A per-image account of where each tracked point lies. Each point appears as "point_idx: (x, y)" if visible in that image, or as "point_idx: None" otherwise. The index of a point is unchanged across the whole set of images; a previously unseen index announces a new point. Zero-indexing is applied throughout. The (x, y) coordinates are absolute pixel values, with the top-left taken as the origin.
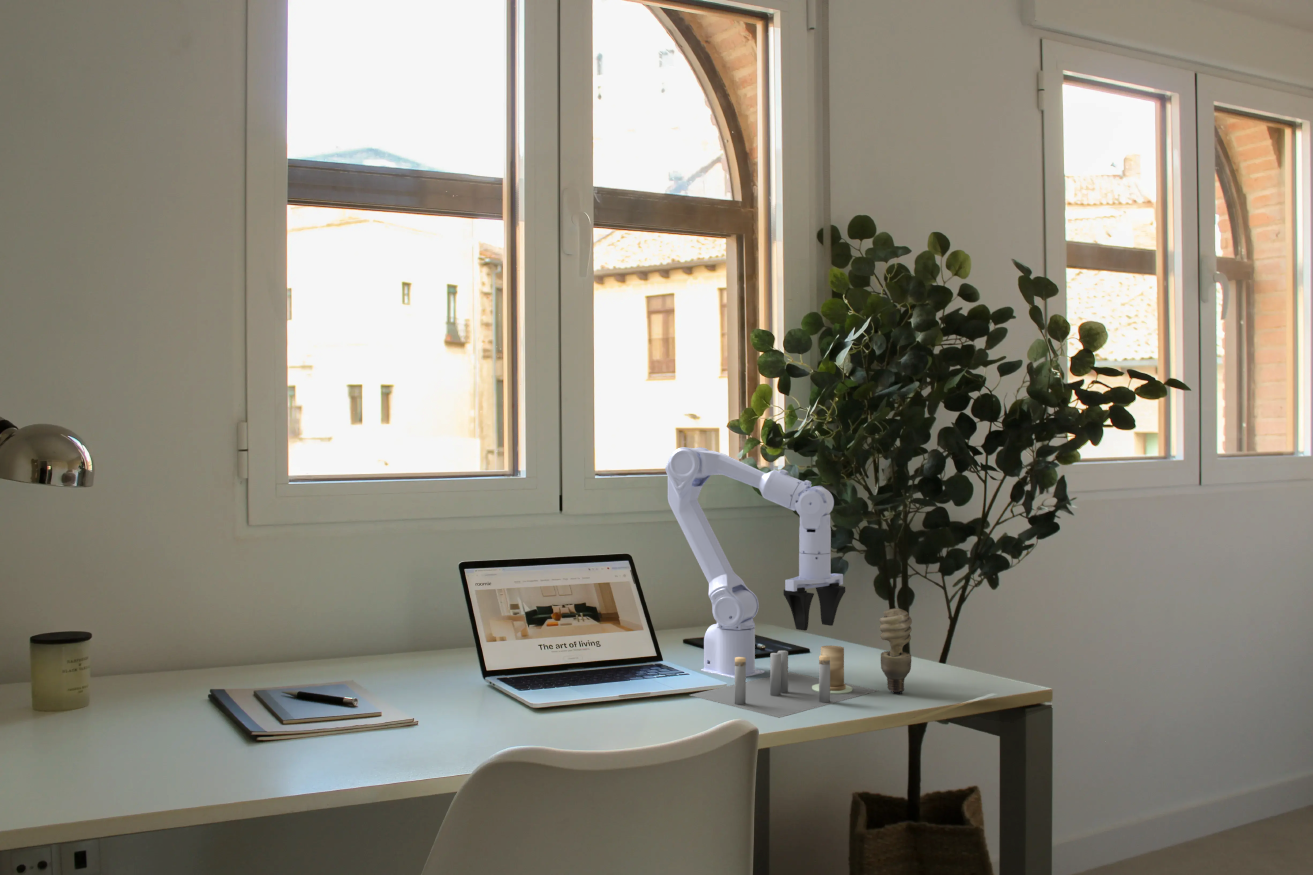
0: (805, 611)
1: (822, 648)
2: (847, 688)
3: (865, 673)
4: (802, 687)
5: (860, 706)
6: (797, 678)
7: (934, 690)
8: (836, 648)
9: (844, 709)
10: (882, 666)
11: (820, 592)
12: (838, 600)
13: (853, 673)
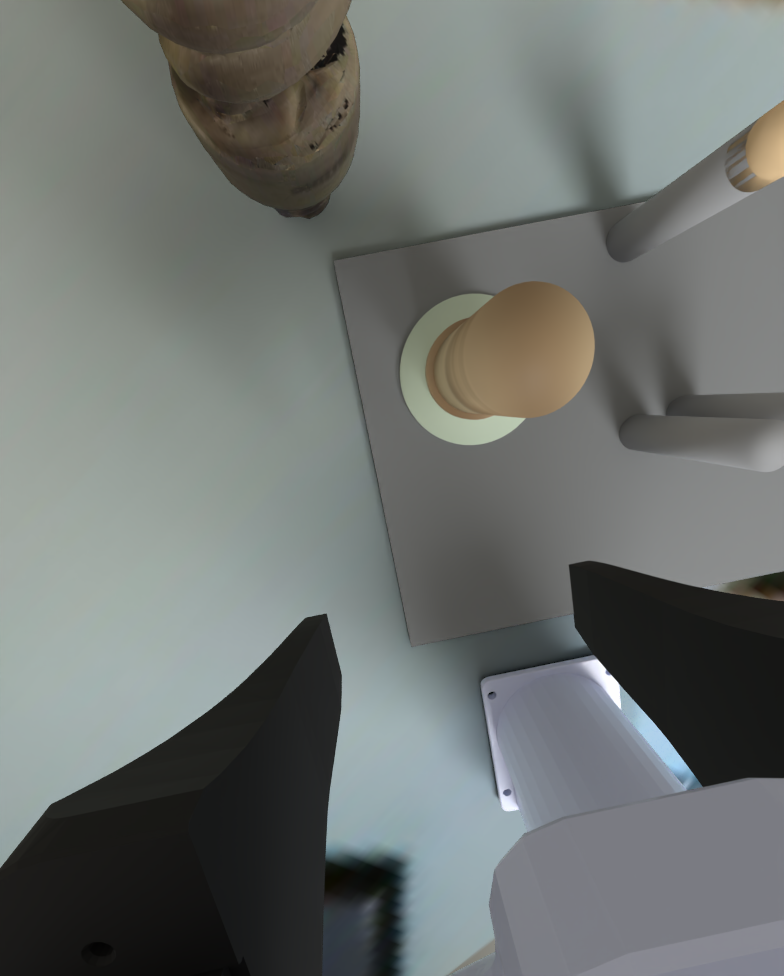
0: (716, 592)
1: (590, 366)
2: (434, 330)
3: (166, 530)
4: (535, 450)
5: (544, 137)
6: (455, 562)
7: (107, 163)
8: (528, 320)
9: (622, 137)
10: (355, 146)
11: (311, 961)
12: (218, 722)
13: (207, 551)
